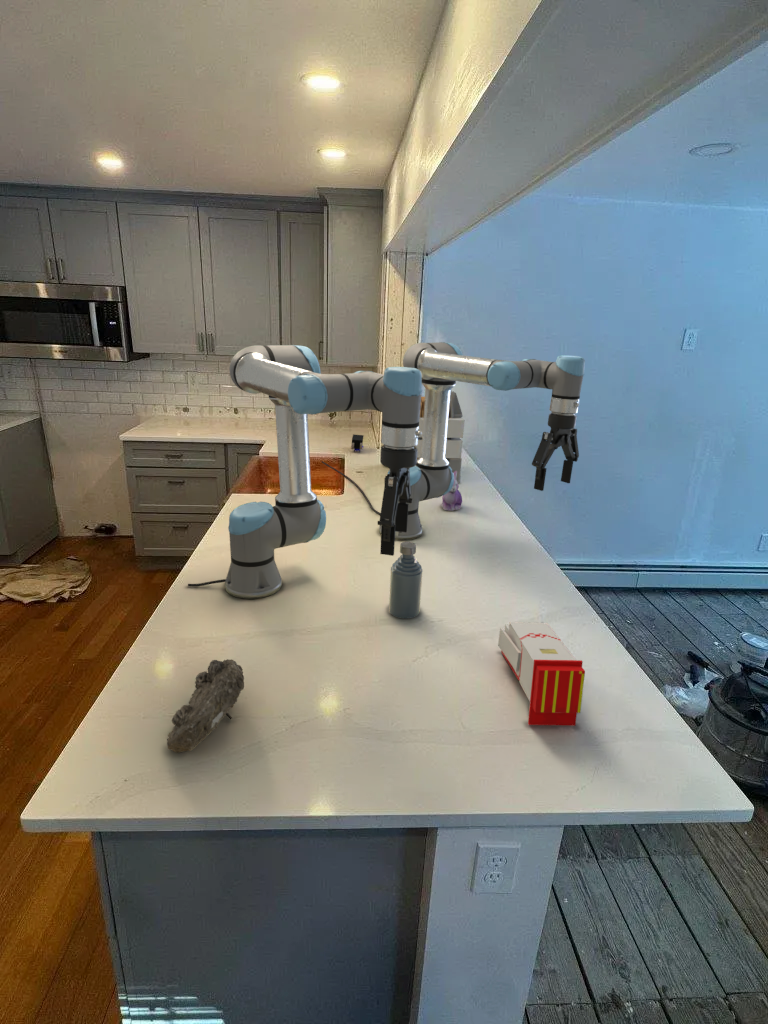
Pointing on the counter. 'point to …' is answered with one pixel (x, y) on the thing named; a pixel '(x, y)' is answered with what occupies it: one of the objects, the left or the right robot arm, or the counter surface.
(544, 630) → the toy
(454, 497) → the figurine
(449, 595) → the counter surface
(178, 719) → the fossil
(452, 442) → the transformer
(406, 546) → the cap
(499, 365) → the right robot arm
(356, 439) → the figurine character
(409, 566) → the bottle
